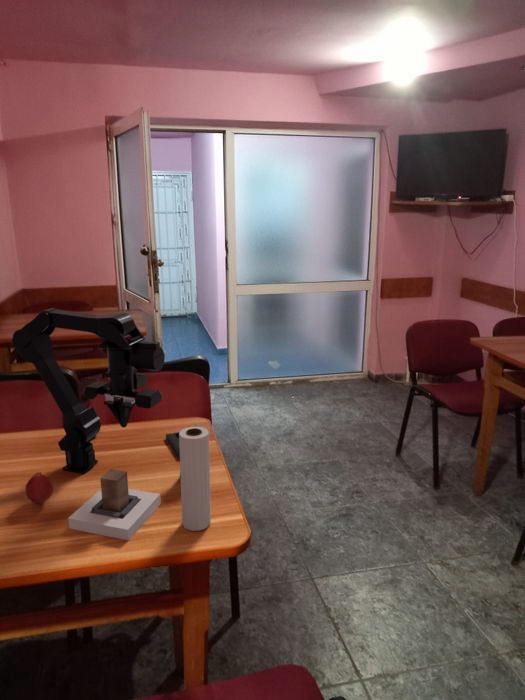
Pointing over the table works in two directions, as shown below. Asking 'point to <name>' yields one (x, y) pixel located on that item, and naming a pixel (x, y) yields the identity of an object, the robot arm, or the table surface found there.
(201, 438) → the paper towel roll
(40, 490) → the onion
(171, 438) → the vhs tape
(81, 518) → the collar block
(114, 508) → the walnut peg
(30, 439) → the table surface
